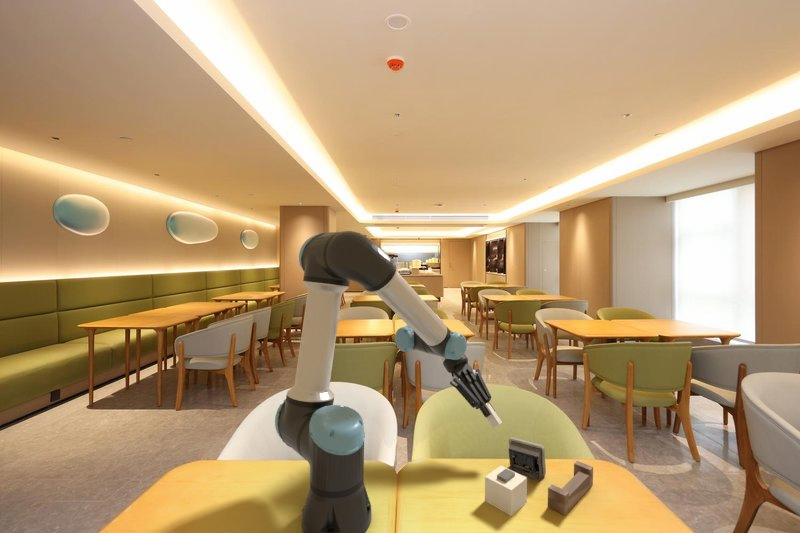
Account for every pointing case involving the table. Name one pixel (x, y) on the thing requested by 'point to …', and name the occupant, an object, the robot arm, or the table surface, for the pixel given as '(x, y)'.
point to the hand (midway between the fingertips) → (497, 425)
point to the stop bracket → (571, 489)
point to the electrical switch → (527, 458)
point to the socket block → (506, 490)
